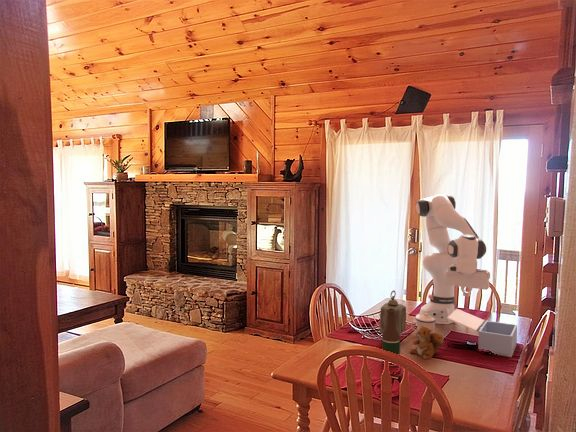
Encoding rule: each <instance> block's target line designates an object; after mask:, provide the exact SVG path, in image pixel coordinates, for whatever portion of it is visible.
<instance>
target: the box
mask: <svg viewBox="0 0 576 432" xmlns="http://www.w3.org/2000/svg"><path fill="white" fill-rule="evenodd" d="M517 342H518V324H515V323H514V324H513V323H505V322H500V321H499V322H498V321H490V320H486V321H485V322H484V324H483V325H482V326H481V328H480V329H479V331H478V344H477V345H478V348H477V350H478V349H484V350H489V351H491V352H492V353H494V354H493V355H496V354H497V355H496V356H503V357H508V358H512V356H513V354H514V351H515V349H516V347H517V345H518V343H517Z"/></svg>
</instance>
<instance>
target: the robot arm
mask: <svg viewBox="0 0 576 432" xmlns="http://www.w3.org/2000/svg"><path fill="white" fill-rule="evenodd" d="M416 201H417V202H416V204H415V205H416V206H415V209H416V212H417V214H418V215H419V216H420V217H422V218H423V217H425V221H426V222H425V224H426V226H425V227H426V231H427V235H428V241H429V244H430V245H431V246H432V247H433V248H435V249H436V250H437V251H438V252H435V253H434V252H433V253H430V254H426V255H425V256H424V258H423V260H422V265H423V268H424V270H426V272H428V273H429V275H430V276H431V278H432V281H433V294H430V293H429V294H428V295H427V296H428V298H429V302H427V303H425V304H424V305H422V306H421V308H420V311H419V313H418V314H416V315H415V319H416V320H417V318H418V317H420V316H423V315H424V314H425V313H427V314H428V315H429V316H431V317H433V318H435V320H436V321H435V325H436V324H440V325H451V324H453V323H455V322H452V321H450V320H448V319H447V318H448V317H449V316H450V315H451V314H452V313H453V312H454V311H455V310H456V308H455V305H456V296H455V287H460V290H461V291H462V296H463V297H470V295H471V292H472V291H473V289H479V290H488V289H489V288H490V278H491V272H490V271H488V270H487V269H478V260H480V259H482V258H483V257H484V256H485V254H487V245H486V243H485V242H484V241H483V239H481V238H480V237H479V236H478V234H477V233H476V231H475V230H474V228H473V226H472V225H471V224H470V222H469V221H468V220H467V219H466V217H463V216H462V215H461V214H459V212H458V211H457V209H456V207H457V206H456V205H457V203H456V200H455V197H454V196H452V195H451V194H442V193H441V194H436V195H434V196H429V197H426V198H420V199H418V200H416ZM448 229H453V230H456V231H459V232H460V233H462V234H461V235H459V236H458V237H459V238H458V237H457V238H455V239H450V236H449V231H448ZM465 288H468V290H469V291H466V290H465Z"/></svg>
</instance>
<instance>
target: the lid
mask: <svg viewBox="0 0 576 432" xmlns="http://www.w3.org/2000/svg"><path fill="white" fill-rule="evenodd" d="M447 319H448V320H450V321H452V322H454V323H455V324H457V325H460V326H462V327H465V328H466V329H468V330H472V331H473V332H476V333H478V332H479V330H480V329H481V327H482V326H483V324H484V323H485V322H486V321H487V320H486V319H482V318H480V317H479V316H475V315H473V314H471V313H468V312H466V311H464V310H461V309H459V308H455V311H454V312H453V313H452V314H451V315H450V316H449V317H448V318H447Z"/></svg>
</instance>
